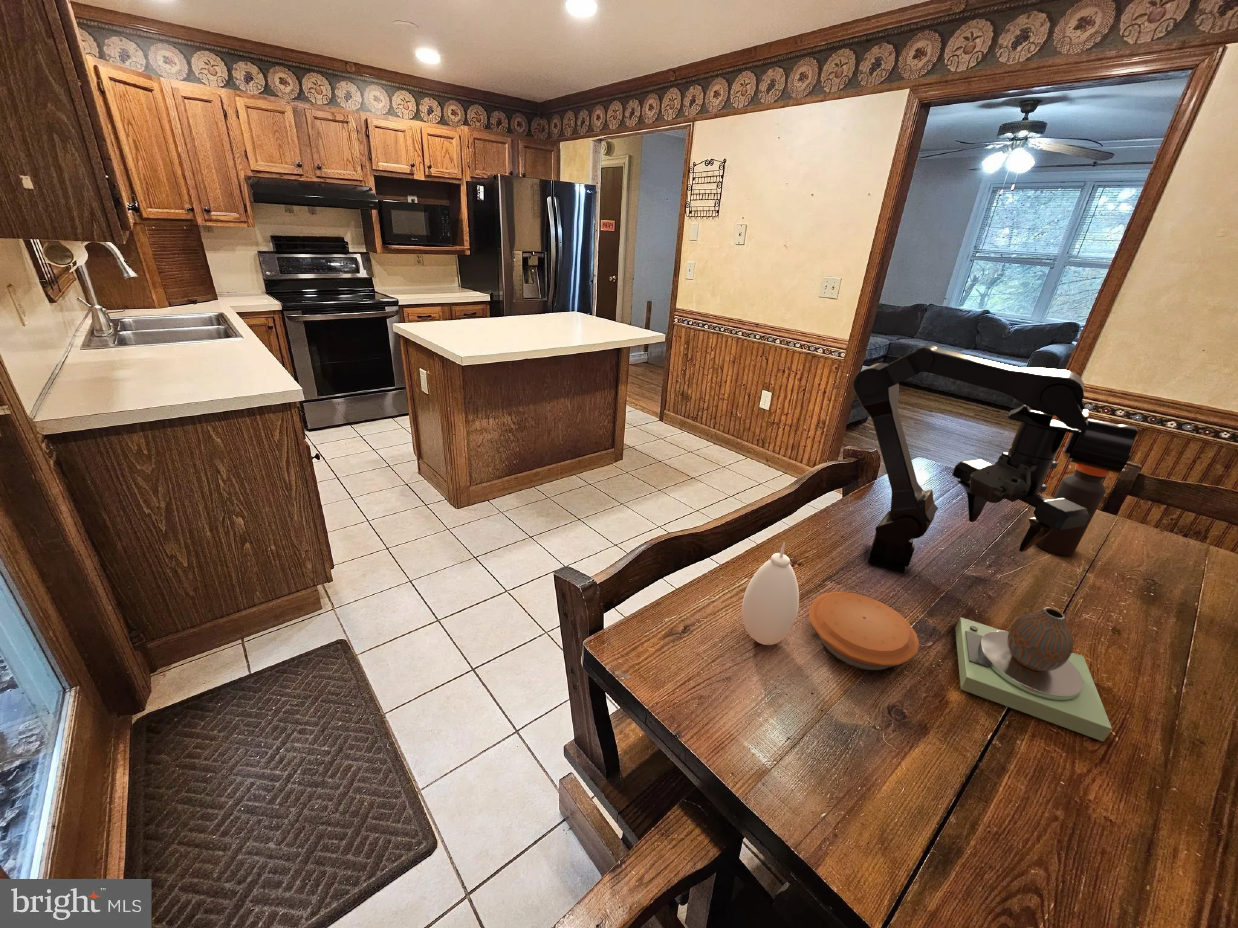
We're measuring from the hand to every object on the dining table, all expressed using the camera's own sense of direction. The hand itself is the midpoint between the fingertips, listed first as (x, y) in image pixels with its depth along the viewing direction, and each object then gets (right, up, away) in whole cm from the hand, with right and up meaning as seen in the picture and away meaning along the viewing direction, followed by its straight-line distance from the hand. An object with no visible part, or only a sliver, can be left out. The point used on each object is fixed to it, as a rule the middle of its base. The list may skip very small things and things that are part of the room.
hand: (995, 535), depth 87 cm
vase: (-5, -16, -13) cm, 22 cm away
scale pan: (-5, -17, -13) cm, 22 cm away
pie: (-27, -16, -7) cm, 32 cm away
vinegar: (+28, -6, +21) cm, 35 cm away
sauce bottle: (-42, -15, -7) cm, 45 cm away
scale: (-5, -19, -12) cm, 23 cm away
